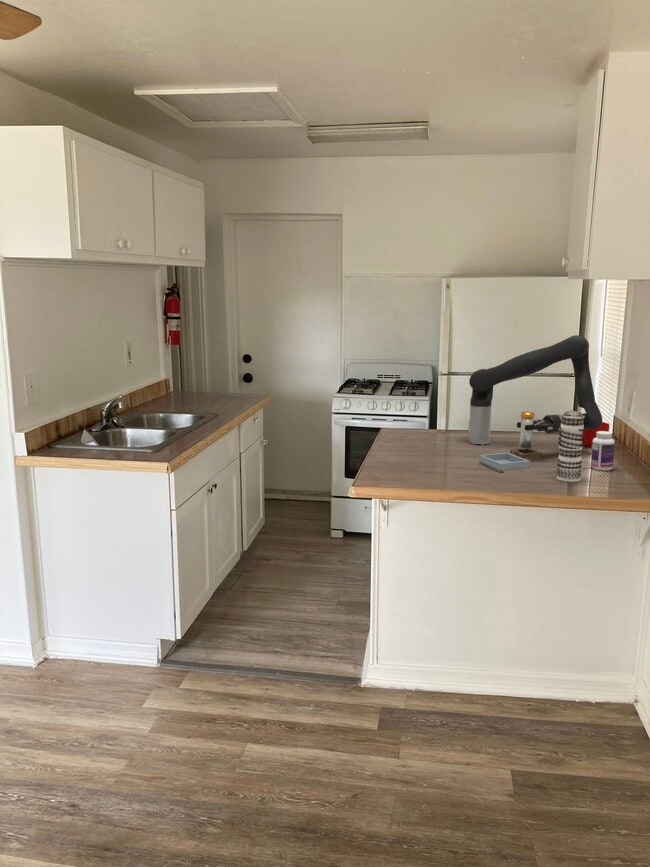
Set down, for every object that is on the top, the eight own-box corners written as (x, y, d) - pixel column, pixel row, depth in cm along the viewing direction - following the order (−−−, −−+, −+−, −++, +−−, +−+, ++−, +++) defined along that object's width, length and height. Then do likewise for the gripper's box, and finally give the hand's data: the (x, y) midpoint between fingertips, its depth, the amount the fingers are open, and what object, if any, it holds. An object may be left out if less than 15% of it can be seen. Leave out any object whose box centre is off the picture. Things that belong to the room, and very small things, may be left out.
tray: (479, 463, 285) (479, 455, 284) (507, 460, 289) (507, 452, 289) (500, 472, 271) (501, 464, 270) (529, 469, 276) (529, 461, 275)
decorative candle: (574, 474, 268) (578, 409, 263) (586, 481, 259) (591, 413, 254) (551, 475, 267) (555, 410, 262) (562, 482, 258) (567, 414, 253)
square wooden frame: (509, 459, 292) (510, 449, 291) (528, 457, 295) (528, 448, 294) (522, 464, 284) (523, 454, 283) (541, 462, 287) (542, 452, 286)
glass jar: (516, 445, 290) (518, 411, 287) (527, 444, 292) (529, 411, 288) (523, 448, 285) (526, 414, 282) (534, 447, 287) (537, 413, 284)
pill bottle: (614, 468, 278) (617, 431, 275) (609, 472, 271) (612, 435, 268) (593, 465, 282) (596, 429, 279) (588, 469, 276) (590, 433, 273)
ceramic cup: (566, 446, 314) (567, 424, 311) (586, 441, 324) (587, 419, 322) (594, 451, 304) (595, 429, 302) (613, 445, 315) (615, 423, 313)
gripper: (546, 411, 297) (511, 414, 291) (568, 417, 284) (532, 420, 278) (545, 429, 299) (510, 432, 293) (567, 436, 285) (531, 439, 280)
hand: (521, 426), depth 286 cm, fingers closed on glass jar, 4 cm apart
